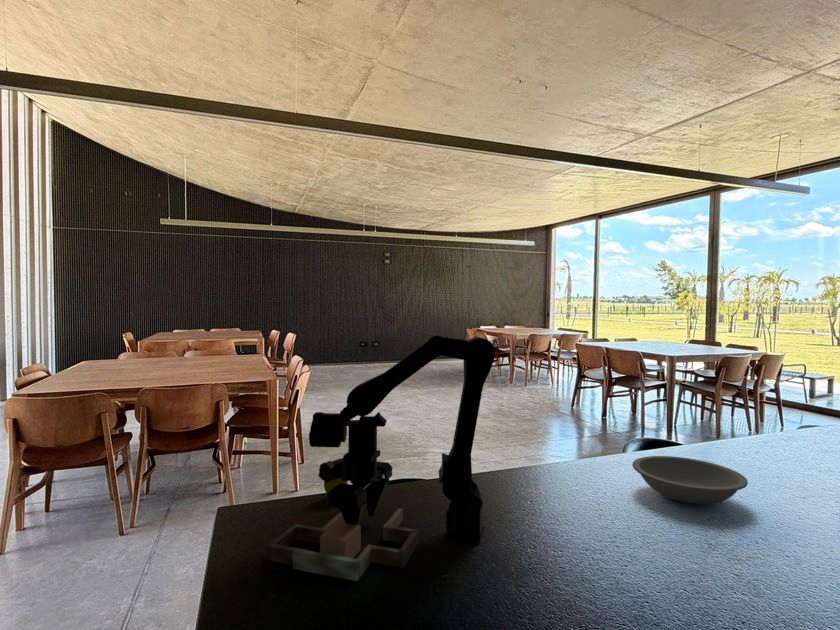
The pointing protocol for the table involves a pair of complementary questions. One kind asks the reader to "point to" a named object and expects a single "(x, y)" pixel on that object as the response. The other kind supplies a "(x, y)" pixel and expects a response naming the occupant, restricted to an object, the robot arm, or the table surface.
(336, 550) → the block
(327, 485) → the lemon
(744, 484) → the soup bowl
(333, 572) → the box
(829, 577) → the table surface
